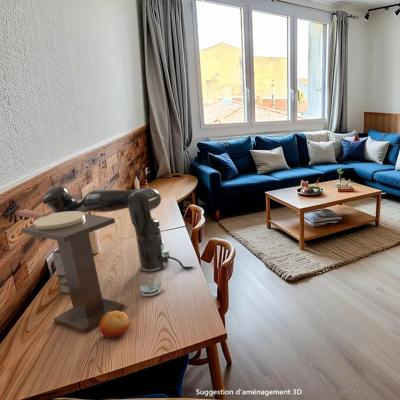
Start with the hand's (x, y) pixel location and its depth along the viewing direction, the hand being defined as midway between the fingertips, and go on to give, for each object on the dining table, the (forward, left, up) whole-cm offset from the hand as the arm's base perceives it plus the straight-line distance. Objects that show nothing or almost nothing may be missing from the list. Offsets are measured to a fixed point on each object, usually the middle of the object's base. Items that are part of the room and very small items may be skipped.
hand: (10, 216), depth 115 cm
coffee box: (-14, -3, -31) cm, 34 cm away
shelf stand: (-24, +17, -31) cm, 42 cm away
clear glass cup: (-42, +8, -31) cm, 52 cm away
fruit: (-36, +30, -31) cm, 55 cm away
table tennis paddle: (-16, +11, +1) cm, 20 cm away
